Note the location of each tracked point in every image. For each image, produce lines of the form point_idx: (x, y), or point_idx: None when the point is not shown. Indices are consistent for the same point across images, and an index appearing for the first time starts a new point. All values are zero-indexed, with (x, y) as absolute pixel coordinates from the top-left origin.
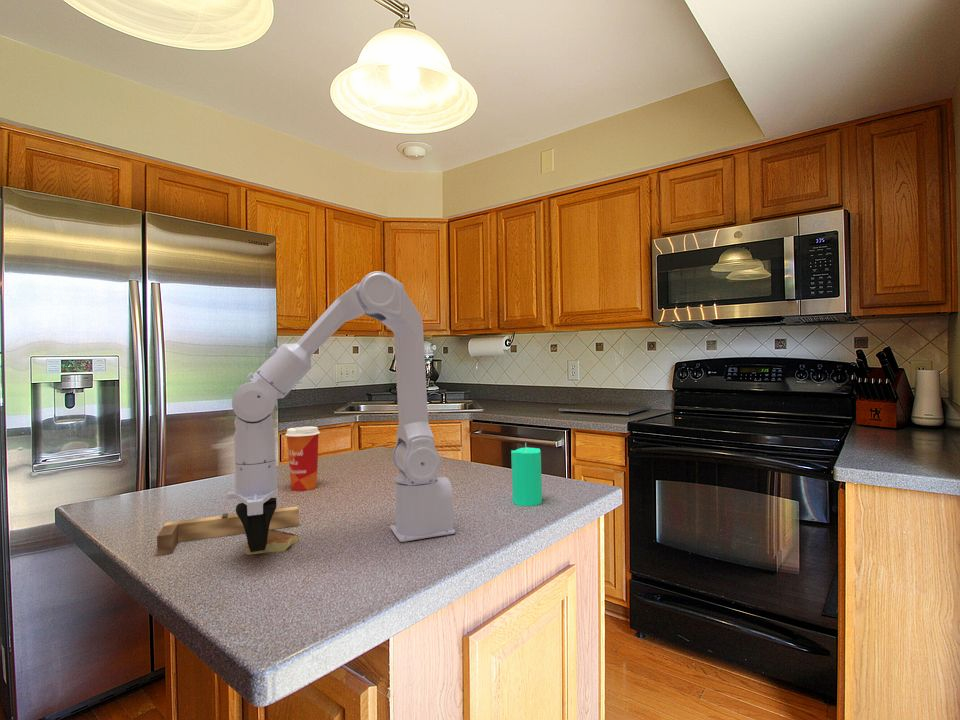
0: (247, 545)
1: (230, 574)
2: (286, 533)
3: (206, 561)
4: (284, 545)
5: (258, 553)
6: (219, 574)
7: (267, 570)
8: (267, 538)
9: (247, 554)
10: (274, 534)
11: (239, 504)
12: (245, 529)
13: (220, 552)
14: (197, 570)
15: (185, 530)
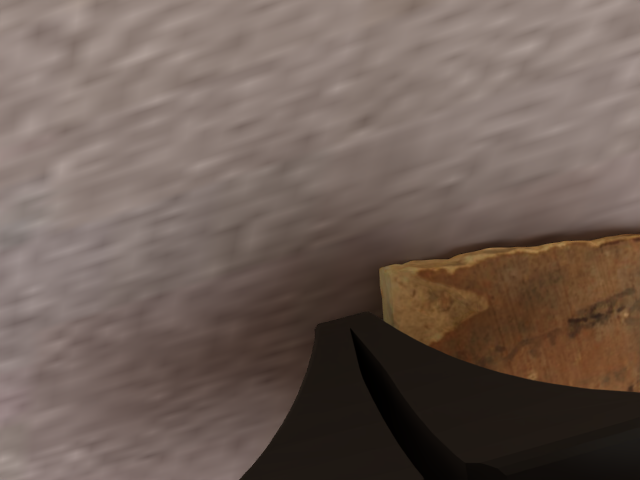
0: (463, 261)
1: (62, 268)
2: None
3: (328, 26)
4: None
5: None
6: (70, 199)
7: (101, 449)
8: (518, 368)
9: (381, 269)
10: (588, 383)
11: (629, 466)
12: (289, 416)
13: (480, 74)
14: (163, 17)
15: None
